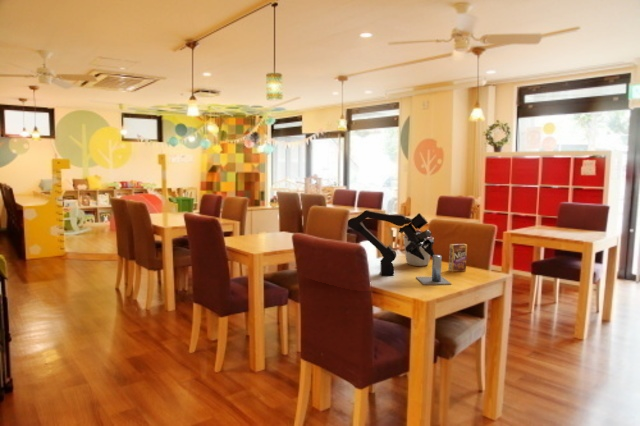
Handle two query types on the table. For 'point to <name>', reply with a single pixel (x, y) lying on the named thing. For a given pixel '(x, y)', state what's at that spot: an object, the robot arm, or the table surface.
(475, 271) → the table surface
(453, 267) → the candy box
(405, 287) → the table surface
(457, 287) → the table surface
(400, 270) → the table surface
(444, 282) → the gray mat
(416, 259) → the canister
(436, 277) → the tin canister
